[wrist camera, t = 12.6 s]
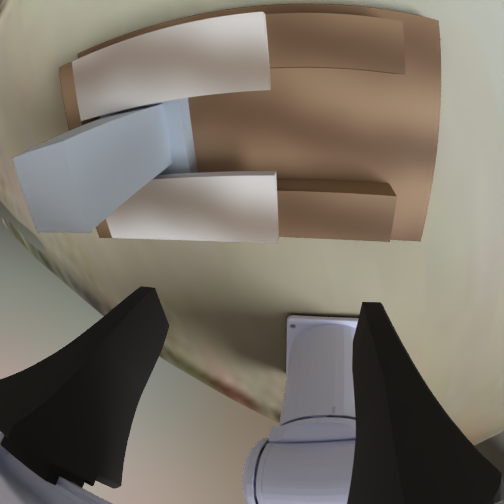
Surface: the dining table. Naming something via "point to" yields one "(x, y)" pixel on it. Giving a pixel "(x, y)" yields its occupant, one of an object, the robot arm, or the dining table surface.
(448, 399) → the dining table surface
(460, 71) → the dining table surface
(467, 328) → the dining table surface
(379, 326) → the robot arm
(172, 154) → the t stud
